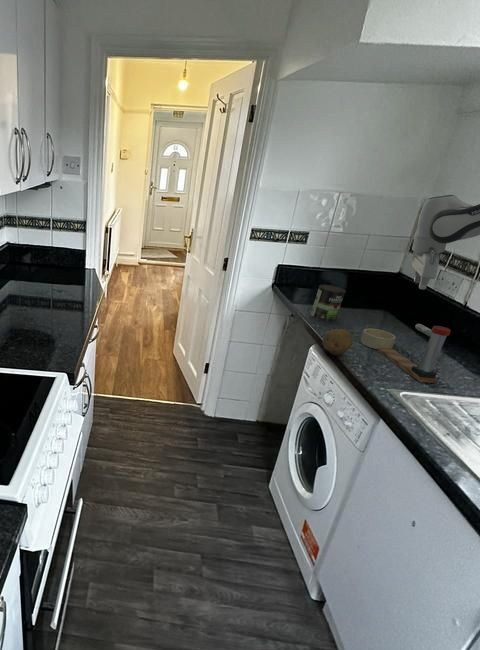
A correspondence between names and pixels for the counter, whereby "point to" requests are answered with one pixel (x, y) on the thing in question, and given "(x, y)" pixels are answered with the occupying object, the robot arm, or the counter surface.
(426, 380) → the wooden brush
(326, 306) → the coffee can
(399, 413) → the counter surface
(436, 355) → the tap
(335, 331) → the natural sponge
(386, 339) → the basin
